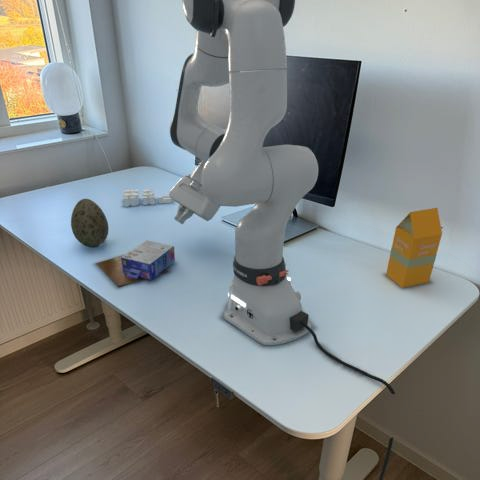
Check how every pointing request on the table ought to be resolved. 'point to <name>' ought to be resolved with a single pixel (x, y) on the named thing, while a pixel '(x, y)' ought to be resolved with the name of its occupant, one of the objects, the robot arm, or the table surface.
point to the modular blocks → (148, 198)
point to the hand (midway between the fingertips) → (178, 221)
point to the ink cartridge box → (148, 260)
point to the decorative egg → (89, 223)
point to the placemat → (118, 272)
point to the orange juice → (415, 248)
